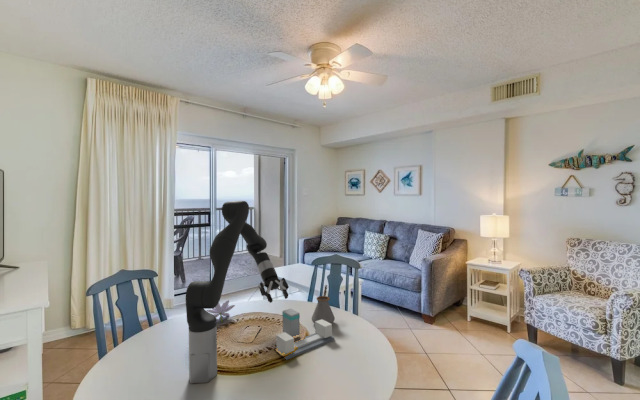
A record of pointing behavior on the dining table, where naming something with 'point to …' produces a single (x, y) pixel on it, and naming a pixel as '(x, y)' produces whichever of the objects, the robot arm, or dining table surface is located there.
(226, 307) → the water lily
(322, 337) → the rail panel
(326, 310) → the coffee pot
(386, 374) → the dining table surface
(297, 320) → the block
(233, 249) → the robot arm
